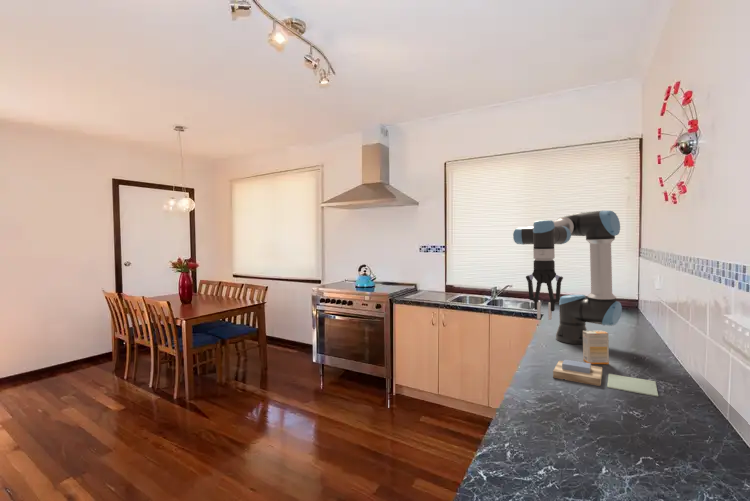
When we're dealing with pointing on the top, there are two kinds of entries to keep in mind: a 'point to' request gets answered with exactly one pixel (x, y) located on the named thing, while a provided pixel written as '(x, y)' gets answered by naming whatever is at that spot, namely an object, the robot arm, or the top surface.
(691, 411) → the top surface
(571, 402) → the top surface
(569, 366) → the blue rectangular block
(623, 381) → the mat
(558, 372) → the board
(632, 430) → the top surface
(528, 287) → the robot arm
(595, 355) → the supplement box
